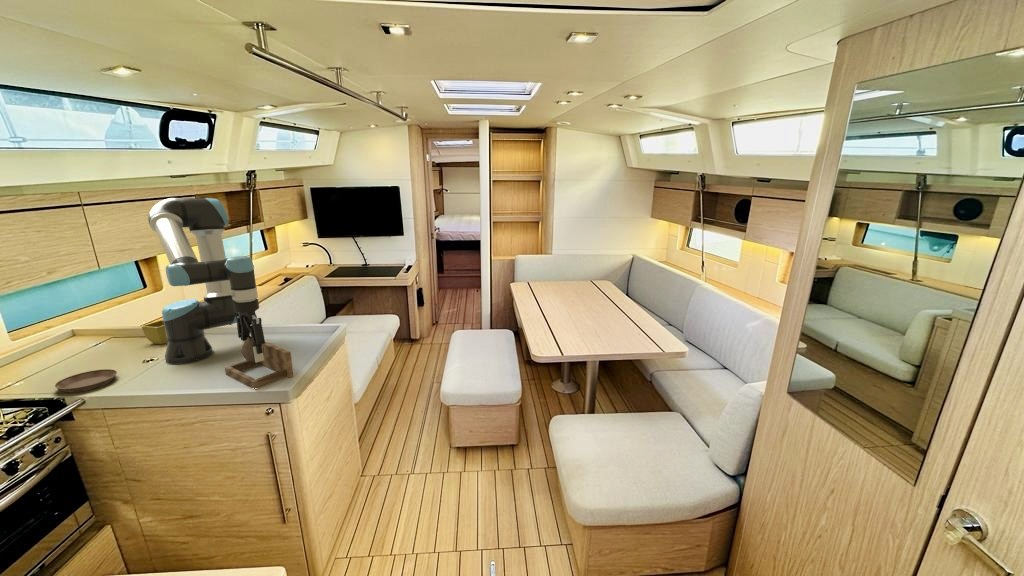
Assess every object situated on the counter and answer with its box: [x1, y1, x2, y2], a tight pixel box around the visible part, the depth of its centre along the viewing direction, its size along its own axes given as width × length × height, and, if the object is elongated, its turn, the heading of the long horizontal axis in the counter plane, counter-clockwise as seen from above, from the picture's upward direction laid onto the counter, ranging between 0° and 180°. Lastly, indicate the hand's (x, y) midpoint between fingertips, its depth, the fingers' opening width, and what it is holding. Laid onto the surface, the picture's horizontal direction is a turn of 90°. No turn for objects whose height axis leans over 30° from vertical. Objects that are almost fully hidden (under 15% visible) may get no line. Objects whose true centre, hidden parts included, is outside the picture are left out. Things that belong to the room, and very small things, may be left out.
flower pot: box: [140, 319, 168, 345], centre depth 170 cm, size 9×9×9 cm
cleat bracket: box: [224, 341, 294, 390], centre depth 143 cm, size 24×13×10 cm, turn 59°
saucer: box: [54, 368, 118, 393], centre depth 134 cm, size 15×15×3 cm
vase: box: [241, 335, 264, 361], centre depth 141 cm, size 7×7×9 cm
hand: (254, 358), depth 142 cm, fingers closed on vase, 7 cm apart
